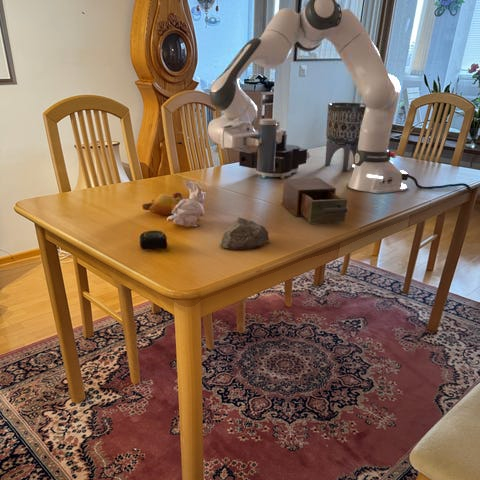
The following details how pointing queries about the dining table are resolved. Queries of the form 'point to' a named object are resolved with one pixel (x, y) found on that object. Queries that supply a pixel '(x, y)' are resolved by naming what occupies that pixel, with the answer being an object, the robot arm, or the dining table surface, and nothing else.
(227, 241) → the rock
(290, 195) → the cabinet
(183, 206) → the figurine
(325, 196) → the drawer
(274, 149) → the salt shaker
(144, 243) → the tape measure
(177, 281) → the dining table surface
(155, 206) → the toy
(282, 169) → the mechanical component
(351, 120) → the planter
